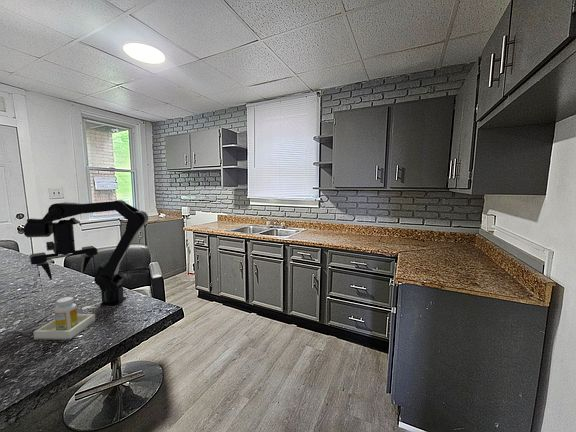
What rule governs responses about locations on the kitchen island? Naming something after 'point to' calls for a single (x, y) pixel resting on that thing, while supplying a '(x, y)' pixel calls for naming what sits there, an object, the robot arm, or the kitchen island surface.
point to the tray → (51, 332)
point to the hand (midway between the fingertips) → (67, 276)
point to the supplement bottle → (65, 314)
